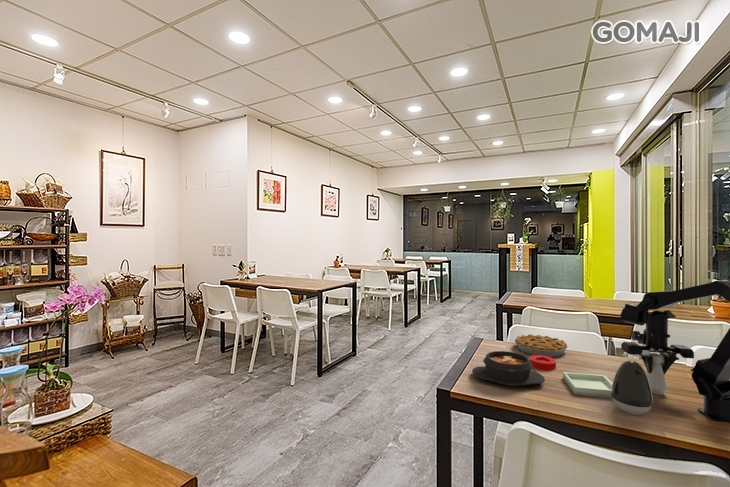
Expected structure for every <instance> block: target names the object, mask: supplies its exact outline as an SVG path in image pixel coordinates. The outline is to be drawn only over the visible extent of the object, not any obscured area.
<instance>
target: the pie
mask: <svg viewBox="0 0 730 487" xmlns="http://www.w3.org/2000/svg"><path fill="white" fill-rule="evenodd" d="M514 342H515V344H516V346H517V347H518V350H519V351H521V350H522V351H521V352H523V353H527V354H530V355H532V356H533V355H544V356H548V357H551V358H553V357H554V356H555V357H559V356H562V355H563V354H564V352H565V351H566V350H567V348H569V346H568V344H567V343H566V342H565V341H564V340H563V339H559V338H554V337H550V336H548V335H545V336H542V335H540V334H539V335H534V334H527V335H524V334H523V335H522V334H521V335H520V336H517V337H516V338H515V340H514Z"/></svg>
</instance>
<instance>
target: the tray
mask: <svg viewBox="0 0 730 487" xmlns="http://www.w3.org/2000/svg"><path fill="white" fill-rule="evenodd" d="M562 380H563V381H564V382H565V383H566V384H567V386H568V387H569V388H570V390H571V391H572V393H573V394H574V395H578V396H587V397H588V396H590V397H598V398H599V397H600V398H611V399H613V397H612V396H611V389H612V384H613V381H611V380H610V379H609V378H608V377H607V376H606V375H605V374H604V375H603V374H592V373H581V372H580V373H579V372H569V371H568V372H567V371H563V372H562Z"/></svg>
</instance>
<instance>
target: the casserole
mask: <svg viewBox="0 0 730 487" xmlns="http://www.w3.org/2000/svg"><path fill="white" fill-rule="evenodd" d="M483 363H484V365H485V366H484V365H483V366H475V367H474V368H472V371H471V372H472V374H473V376H474V377H475V378H477V379H479V380H482V381H483V380H484V381H489V382H493V383H497V384H500V385H503V386H511V387H516V386H517V387H518V386H527V385H528V386H529V385H540V384H543V383H545V379H546V378H545V377H544V376H543V375H542V374H541V373H539V372H538V371H536V370H533V368H534V367H533V366H532V364H531V363H530V358H528V357H527V356H526V355H523V354H521V353H516V352H512V351H508V350H507V351H503V350H498V351H497V350H495V351H489V352H488V353H486V354H485V357H484V358H483Z"/></svg>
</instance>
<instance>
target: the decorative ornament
mask: <svg viewBox="0 0 730 487" xmlns="http://www.w3.org/2000/svg"><path fill="white" fill-rule="evenodd" d="M529 360H530V363H531V364H532V366H533V368H534V369H537V370H542V371H553V370H554V371H555V370H556V369H557V361H556V359H555V358H553V357H548V356H544V355H533V354H532V355H530V357H529Z"/></svg>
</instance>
